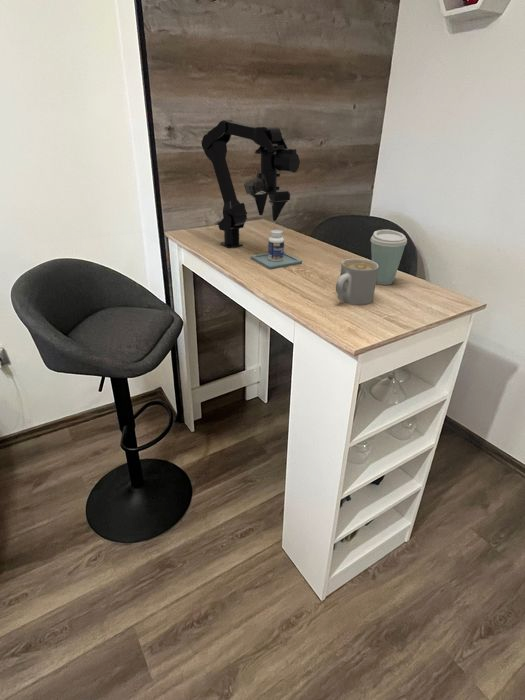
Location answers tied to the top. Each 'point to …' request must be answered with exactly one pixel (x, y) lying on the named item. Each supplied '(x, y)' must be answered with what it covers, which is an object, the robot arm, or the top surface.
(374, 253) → the disposable coffee cup
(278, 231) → the pill bottle
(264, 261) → the tray
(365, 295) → the coffee mug
